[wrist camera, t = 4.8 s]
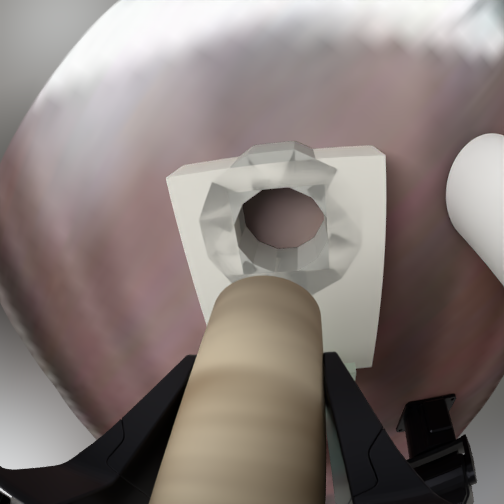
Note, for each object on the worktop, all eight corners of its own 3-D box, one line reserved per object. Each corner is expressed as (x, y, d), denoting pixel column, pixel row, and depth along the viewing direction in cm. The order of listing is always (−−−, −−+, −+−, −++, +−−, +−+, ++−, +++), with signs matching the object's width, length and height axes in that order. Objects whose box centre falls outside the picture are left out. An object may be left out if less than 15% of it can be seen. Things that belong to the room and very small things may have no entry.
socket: (366, 340, 25) (371, 366, 22) (228, 346, 27) (222, 372, 24) (371, 135, 17) (384, 143, 14) (181, 156, 19) (163, 168, 17)
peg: (322, 353, 12) (320, 552, 5) (225, 356, 13) (179, 540, 6) (319, 271, 10) (327, 539, 3) (201, 279, 11) (109, 506, 4)
